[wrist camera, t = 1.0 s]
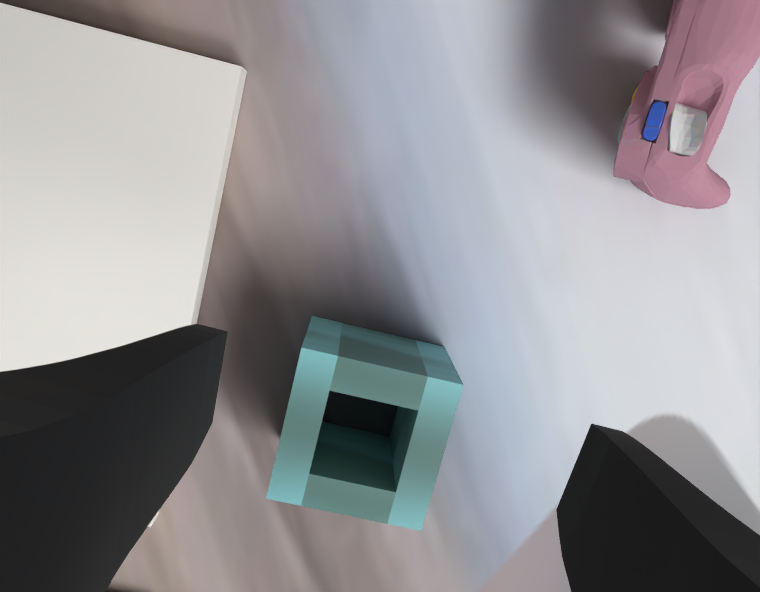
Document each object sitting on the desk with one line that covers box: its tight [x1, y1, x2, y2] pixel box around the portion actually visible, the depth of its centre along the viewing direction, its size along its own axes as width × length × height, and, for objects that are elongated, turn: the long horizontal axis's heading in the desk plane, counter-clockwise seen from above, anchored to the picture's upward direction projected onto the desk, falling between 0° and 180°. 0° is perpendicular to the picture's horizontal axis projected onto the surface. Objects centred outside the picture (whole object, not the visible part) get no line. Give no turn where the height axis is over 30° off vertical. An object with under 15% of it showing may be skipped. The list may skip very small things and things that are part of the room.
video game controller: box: [613, 0, 760, 209], centre depth 20 cm, size 10×5×7 cm, turn 165°
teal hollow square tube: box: [266, 316, 463, 531], centre depth 22 cm, size 5×5×4 cm
